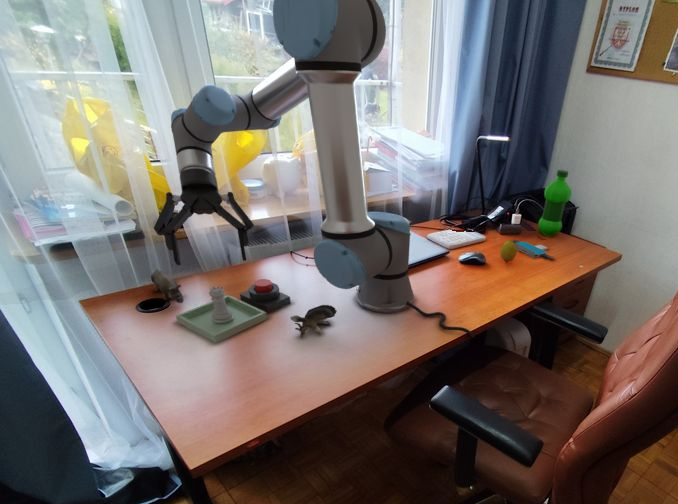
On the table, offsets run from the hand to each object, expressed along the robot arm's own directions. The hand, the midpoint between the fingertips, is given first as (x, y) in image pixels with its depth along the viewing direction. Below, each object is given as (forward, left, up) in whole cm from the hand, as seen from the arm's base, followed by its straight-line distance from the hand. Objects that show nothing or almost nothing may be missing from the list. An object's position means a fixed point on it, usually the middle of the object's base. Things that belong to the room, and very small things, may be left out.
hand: (211, 260), depth 96 cm
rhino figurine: (+12, +5, -12) cm, 18 cm away
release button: (-6, -8, -8) cm, 13 cm away
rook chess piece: (-6, +4, -12) cm, 14 cm away
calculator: (-19, -85, -12) cm, 88 cm away
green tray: (-6, +4, -12) cm, 14 cm away
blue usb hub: (-46, -97, -12) cm, 108 cm away
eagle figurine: (-25, -6, -12) cm, 28 cm away
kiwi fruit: (-43, -78, -12) cm, 90 cm away
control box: (-6, -8, -12) cm, 15 cm away
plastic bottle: (-44, -120, -12) cm, 128 cm away
